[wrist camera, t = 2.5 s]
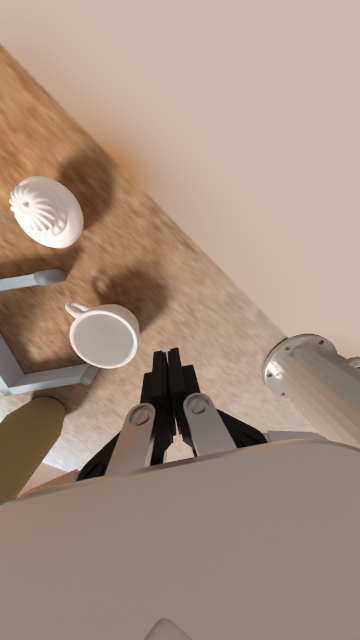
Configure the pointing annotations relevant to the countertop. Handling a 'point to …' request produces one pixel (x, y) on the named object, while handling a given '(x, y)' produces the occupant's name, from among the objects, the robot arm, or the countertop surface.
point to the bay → (10, 379)
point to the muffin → (47, 211)
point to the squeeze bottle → (27, 442)
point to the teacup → (104, 334)
